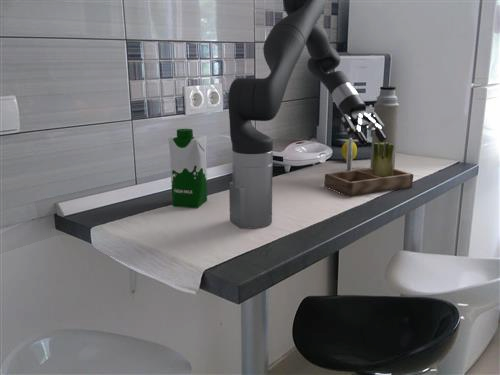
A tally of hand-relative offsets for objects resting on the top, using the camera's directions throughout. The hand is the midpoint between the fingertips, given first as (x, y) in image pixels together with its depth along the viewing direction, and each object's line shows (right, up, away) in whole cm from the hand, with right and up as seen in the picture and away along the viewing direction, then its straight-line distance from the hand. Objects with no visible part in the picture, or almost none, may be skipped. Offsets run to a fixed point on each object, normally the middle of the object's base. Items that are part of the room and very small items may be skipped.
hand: (374, 142), depth 150 cm
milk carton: (-54, -18, -18) cm, 59 cm away
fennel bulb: (+2, -12, 0) cm, 12 cm away
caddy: (-2, -14, -3) cm, 14 cm away
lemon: (-1, -4, +33) cm, 33 cm away
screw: (-6, -11, +9) cm, 15 cm away
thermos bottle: (+8, -8, +19) cm, 22 cm away
